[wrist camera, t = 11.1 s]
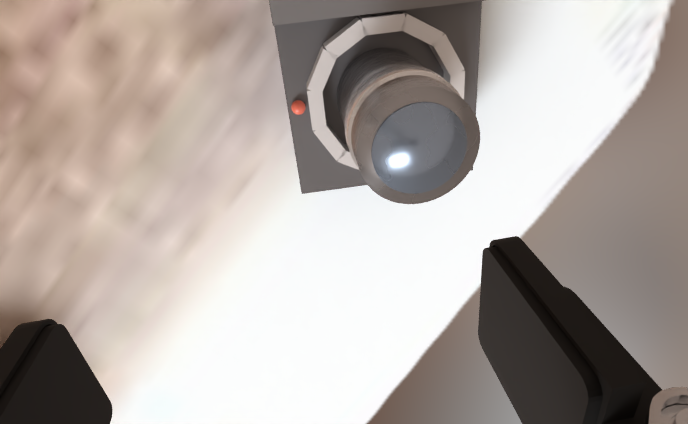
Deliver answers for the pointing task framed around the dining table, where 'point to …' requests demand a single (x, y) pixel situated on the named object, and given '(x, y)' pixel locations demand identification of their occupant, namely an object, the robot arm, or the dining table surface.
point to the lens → (405, 127)
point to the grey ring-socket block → (348, 43)
